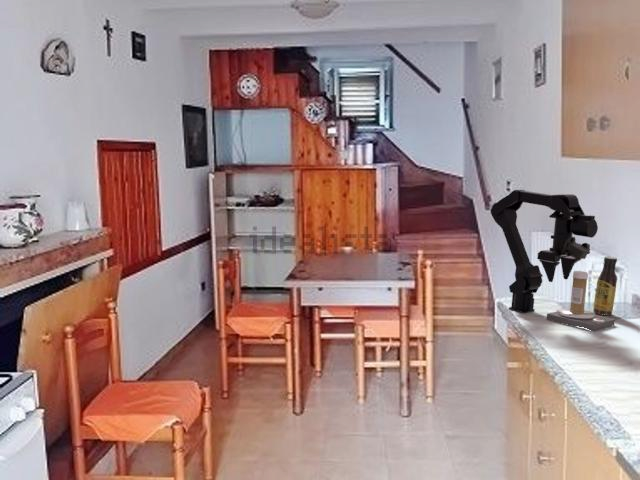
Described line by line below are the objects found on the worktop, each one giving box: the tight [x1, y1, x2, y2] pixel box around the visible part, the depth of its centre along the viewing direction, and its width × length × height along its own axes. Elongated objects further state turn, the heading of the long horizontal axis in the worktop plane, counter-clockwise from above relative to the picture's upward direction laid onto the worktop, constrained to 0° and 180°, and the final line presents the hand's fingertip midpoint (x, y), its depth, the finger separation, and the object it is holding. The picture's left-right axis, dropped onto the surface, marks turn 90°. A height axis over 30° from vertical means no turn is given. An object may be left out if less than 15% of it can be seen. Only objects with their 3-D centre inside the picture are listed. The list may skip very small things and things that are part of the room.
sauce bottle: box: [592, 256, 618, 316], centre depth 240 cm, size 6×6×20 cm
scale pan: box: [556, 307, 595, 320], centre depth 229 cm, size 12×12×1 cm
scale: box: [545, 311, 616, 332], centre depth 228 cm, size 16×14×2 cm
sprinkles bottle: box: [569, 270, 589, 314], centre depth 228 cm, size 5×5×13 cm
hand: (558, 280), depth 229 cm, fingers open, 9 cm apart
